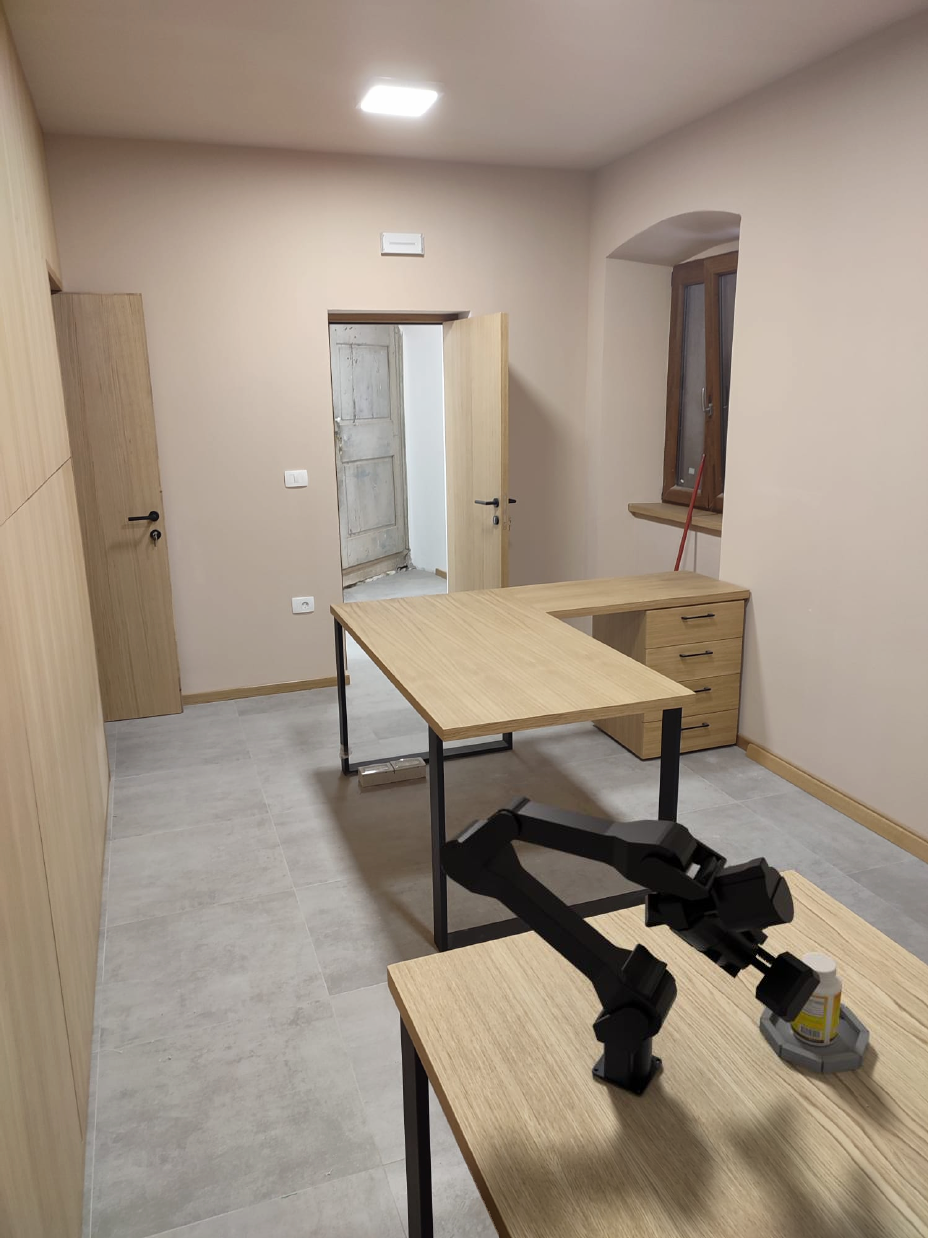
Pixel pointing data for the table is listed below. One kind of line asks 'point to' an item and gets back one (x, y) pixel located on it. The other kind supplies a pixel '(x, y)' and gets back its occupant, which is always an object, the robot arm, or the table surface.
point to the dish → (823, 1059)
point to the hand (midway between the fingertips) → (773, 978)
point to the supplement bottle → (820, 1004)
